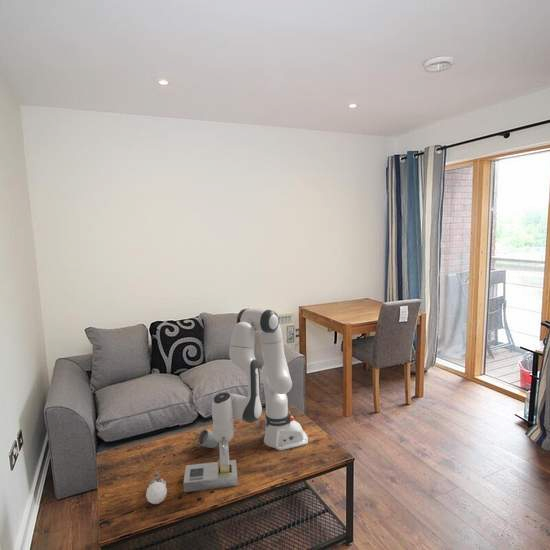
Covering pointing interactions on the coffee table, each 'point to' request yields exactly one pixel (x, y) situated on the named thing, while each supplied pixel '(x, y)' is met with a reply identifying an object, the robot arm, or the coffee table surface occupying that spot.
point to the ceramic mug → (207, 439)
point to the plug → (222, 468)
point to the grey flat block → (209, 476)
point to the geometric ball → (156, 492)
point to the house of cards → (157, 479)
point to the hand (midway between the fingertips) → (224, 462)
